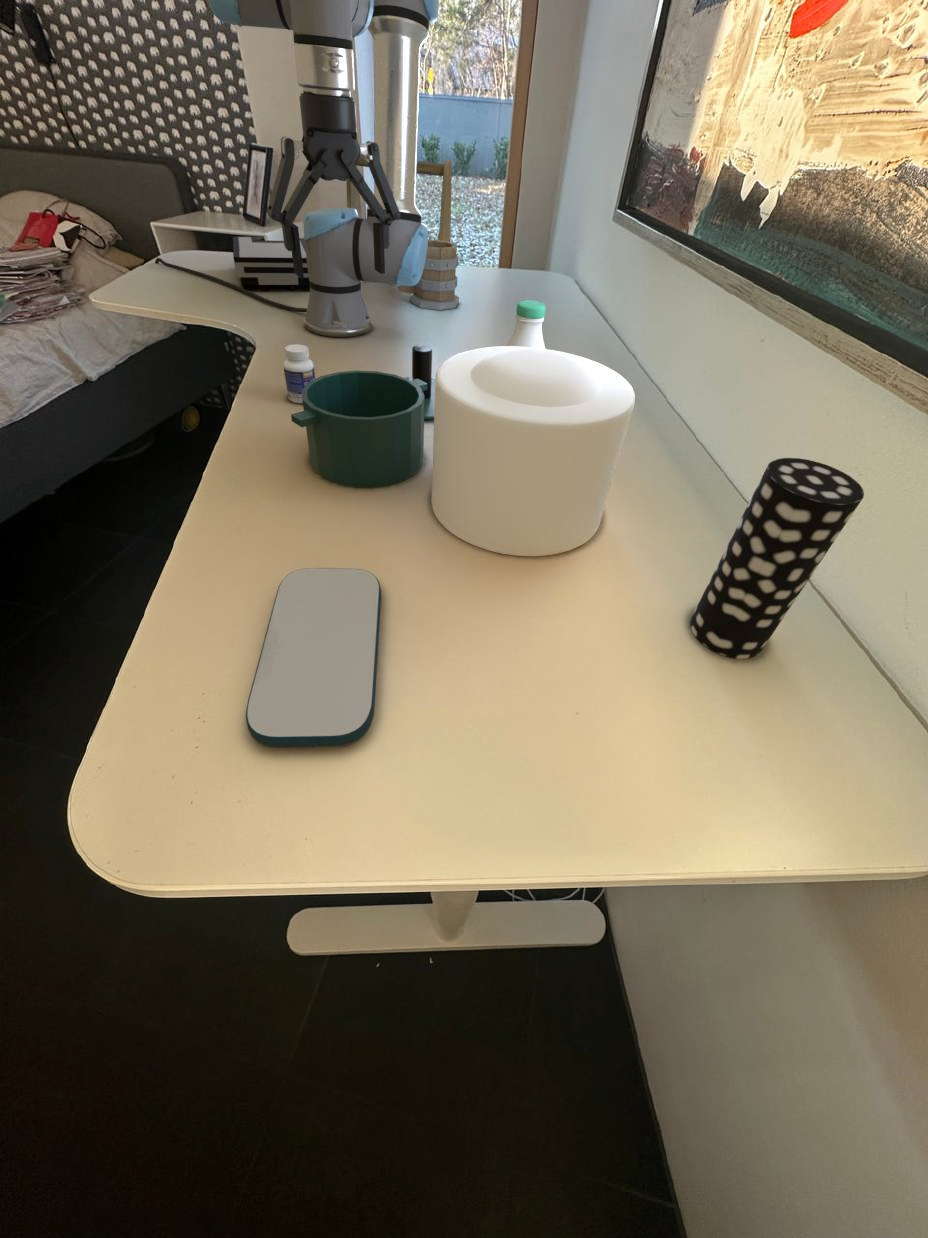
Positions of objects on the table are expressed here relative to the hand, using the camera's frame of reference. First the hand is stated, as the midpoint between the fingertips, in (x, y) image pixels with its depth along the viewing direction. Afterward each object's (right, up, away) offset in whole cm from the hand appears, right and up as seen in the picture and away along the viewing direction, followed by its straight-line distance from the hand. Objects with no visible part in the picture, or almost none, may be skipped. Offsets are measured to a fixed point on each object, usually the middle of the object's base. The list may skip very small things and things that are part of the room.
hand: (340, 273), depth 89 cm
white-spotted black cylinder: (+51, -58, -25) cm, 81 cm away
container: (+28, -39, -8) cm, 49 cm away
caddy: (0, +50, +81) cm, 95 cm away
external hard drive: (+5, -60, -32) cm, 68 cm away
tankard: (+8, +33, +65) cm, 73 cm away
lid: (+12, -14, +16) cm, 24 cm away
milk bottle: (+29, -21, +11) cm, 38 cm away
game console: (-35, +44, +72) cm, 92 cm away
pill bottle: (-10, -15, +13) cm, 23 cm away
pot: (+5, -31, -1) cm, 31 cm away
